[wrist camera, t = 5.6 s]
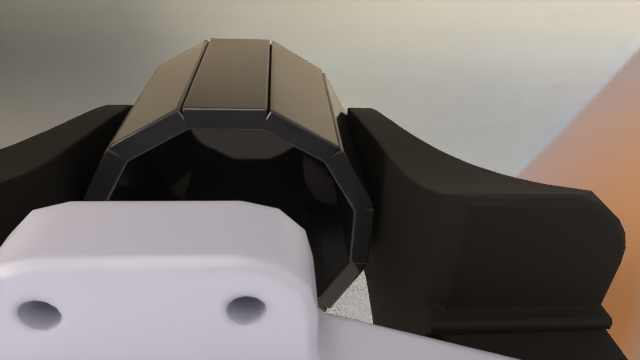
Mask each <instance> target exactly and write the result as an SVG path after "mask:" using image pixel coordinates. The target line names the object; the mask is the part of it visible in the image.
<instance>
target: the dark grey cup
mask: <svg viewBox="0 0 640 360" xmlns="http://www.w3.org/2000/svg"><path fill="white" fill-rule="evenodd" d="M82 201H245V202H249V203H254V204H259V205H263V206H268V207H273V208H277V209H280V210H281V211H282V212H283V213H285V214H286V215H287V216H288V217H290V218H291V219H292V220H293V221H294V222H296V223H297V224H298V225H299V226H301V227H302V228H303V229H304V230H305V232H306V235H307V238H308V242H309V245H310V248H311V252H312V255H313V260H314V271H315V281H316V291H317V302H318V307H319V308H320V309H321V310H322V311H324V312H325V311H326V310H327V308H331V307H332V306H333V304H334V303H335V302H336V301H337V300H338V299H339V298H340V296H341V295H342V294H343V293H344V292H345V291H346V289H347V288H348V287H349V286H350V285H351V284H352V283H353V281H354V280H355V279H356V278H357V277H358V276H359V274H360V273H361V272H362V271H363V270H364V269H365V267H366V264H367V263H368V258H369V250H370V243H371V235H372V227H373V219H374V211H375V209H374V206H373V200H372V197H371V193H370V190H369V187H368V183H367V180H366V176H365V173H364V170H363V166H362V163H361V160H360V156H359V153H358V149H357V146H356V143H355V139H354V136H353V133H352V130H351V126H350V123H349V119H348V116H347V114H346V112H345V110H344V108H343V107H342V105H341V103H340V101H339V99H338V97H337V95H336V93H335V92H334V90H333V88H332V86H331V84H330V82H329V80H328V79H327V77H326V75H325V73H322V70H321V69H319V68H318V67H316V66H314V65H313V64H311V63H309V62H308V61H306V60H304V59H303V58H301V57H299V56H298V55H296V54H294V53H293V52H291V51H289V50H288V49H286V48H284V47H283V46H281V45H279V44H278V43H276V42H274V41H273V42H271V44H270V40H259V39H219V38H212V39H210V41H208V40H204V41H203V42H201V43H199V44H197V45H196V46H194V47H192V48H190V49H189V50H187V51H185V52H183V53H182V54H180V55H178V56H176V57H175V58H173V59H171V60H169V61H167V62H166V63H164V64H162V65H160V66H159V68H158V69H157V70H155V72H154V73H153V75H152V77H151V78H150V80H149V81H148V83H147V85H146V86H145V88H144V89H143V91H142V93H141V94H140V96H139V97H138V99H137V101H136V102H135V104H134V105H133V107H132V109H131V110H130V112H129V113H128V115H127V117H126V118H125V120H124V121H123V123H122V125H121V126H120V128H119V129H118V131H117V133H116V134H115V136H114V137H113V139H112V141H111V142H110V144H109V145H108V147H107V149H106V150H105V152H104V155H103V157H102V159H101V161H100V163H99V165H98V167H97V169H96V172H95V174H94V176H93V178H92V180H91V182H90V184H89V186H88V188H87V191H86V193H85V195H84V197H83V199H82Z"/></svg>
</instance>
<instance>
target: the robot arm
mask: <svg viewBox="0 0 640 360" xmlns="http://www.w3.org/2000/svg"><path fill="white" fill-rule="evenodd" d="M132 107H133V105H105V106H102V107H99V108H96V109H94V110H91V111H89V112H87V113H84V114H82V115H80V116H78V117H76V118H73V119H71V120H69V121H67V122H65V123H63V124H61V125H58V126H56V127H54V128H52V129H50V130H47V131H45V132H43V133H40V134H38V135H35V136H33V137H31V138H28V139H26V140H24V141H21V142H19V143H16V144H14V145H11V146H8V147H6V148H3V149H0V360H628V359H627V358H626V357H625V355H624V354H623V352H622V351H621V350H620V348H619V347H618V346H617V344H616V343H615V341H614V340H613V339H612V337H611V336H610V335H609V333H608V332H607V330H606V329H610V327H611V325H612V318H611V317H610V316H609V314H608V313H607V312H606V310H605V309H604V308H603V307H602V305H601V303H602V301H603V299H604V297H605V295H606V293H607V291H608V289H609V286H610V284H611V282H612V280H613V278H614V276H615V274H616V272H617V270H618V268H619V266H620V264H621V261H622V257H623V254H624V251H625V248H626V247H625V231H624V229H623V227H622V225H621V222H620V220H619V219H618V218H617V217H616V216H615V215H614V214H613V213H612V211H611V210H609V208H608V207H606V205H605V204H604V203H603V202H602V201H601V200H600V199H599V198H598V197H597V196H596V195H595V194H594V193H593V192H592V191H589V190H582V189H575V188H568V187H561V186H553V185H547V184H541V183H537V182H532V181H528V180H523V179H519V178H514V177H511V176H507V175H503V174H499V173H496V172H493V171H490V170H487V169H484V168H481V167H478V166H475V165H472V164H470V163H467V162H464V161H462V160H460V159H457V158H455V157H453V156H451V155H448V154H446V153H444V152H442V151H440V150H438V149H436V148H434V147H432V146H431V145H429V144H427V143H425V142H424V141H422V140H420V139H418V138H417V137H415V136H414V135H412V134H410V133H409V132H407V131H406V130H404V129H403V128H401V127H400V126H398V125H397V124H395V123H394V122H393V121H391V120H390V119H388V118H387V117H385V116H384V115H382V114H381V113H379V112H378V111H376V110H374V109H372V108H348V112H347V116H348V119H349V123H350V126H351V130H352V133H353V136H354V139H355V143H356V146H357V149H358V153H359V156H360V160H361V163H362V166H363V170H364V173H365V176H366V180H367V183H368V187H369V190H370V193H371V197H372V200H373V206H374V209H375V211H374V219H373V227H372V235H371V243H370V250H369V258H368V263H367V264H366V267H365V269H364V272H365V276H366V280H367V286H368V292H369V299H370V305H371V311H372V318H373V324H371V323H366V322H362V321H358V320H354V319H350V318H346V317H341V316H337V315H333V314H329V313H325V312H324V311H322V310H321V309H320V308H319V307H318V302H317V291H316V281H315V271H314V260H313V255H312V252H311V248H310V245H309V242H308V238H307V235H306V232H305V230H304V229H303V228H302V227H301V226H299V225H298V224H297V223H296V222H294V221H293V220H292V219H291V218H290V217H288V216H287V215H286V214H285V213H283V212H282V211H281V210H280V209H277V208H273V207H268V206H263V205H259V204H254V203H249V202H245V201H82V199H83V197H84V195H85V193H86V191H87V188H88V186H89V184H90V182H91V180H92V178H93V176H94V174H95V172H96V169H97V167H98V165H99V163H100V161H101V159H102V157H103V155H104V152H105V150H106V149H107V147H108V145H109V144H110V142H111V141H112V139H113V137H114V136H115V134H116V133H117V131H118V129H119V128H120V126H121V125H122V123H123V121H124V120H125V118H126V117H127V115H128V113H129V112H130V110H131V109H132Z"/></svg>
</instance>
